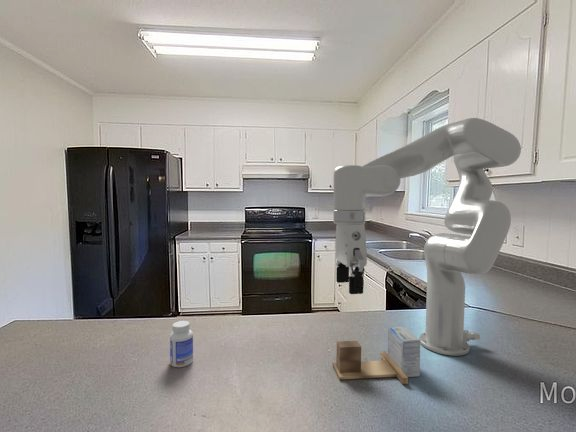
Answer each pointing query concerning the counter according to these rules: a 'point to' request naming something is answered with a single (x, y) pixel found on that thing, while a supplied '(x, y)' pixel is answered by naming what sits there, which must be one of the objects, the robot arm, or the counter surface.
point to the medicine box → (404, 350)
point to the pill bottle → (181, 344)
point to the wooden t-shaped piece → (364, 364)
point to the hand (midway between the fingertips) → (348, 287)
